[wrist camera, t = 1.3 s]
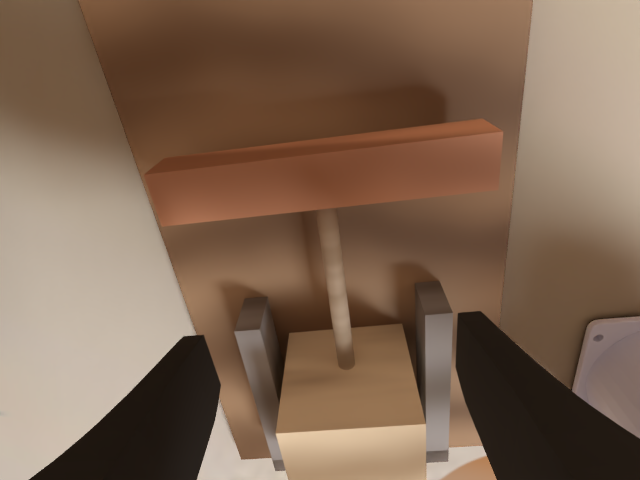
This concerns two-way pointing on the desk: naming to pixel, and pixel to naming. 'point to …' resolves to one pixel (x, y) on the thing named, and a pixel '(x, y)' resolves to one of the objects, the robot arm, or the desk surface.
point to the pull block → (338, 279)
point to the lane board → (354, 221)
